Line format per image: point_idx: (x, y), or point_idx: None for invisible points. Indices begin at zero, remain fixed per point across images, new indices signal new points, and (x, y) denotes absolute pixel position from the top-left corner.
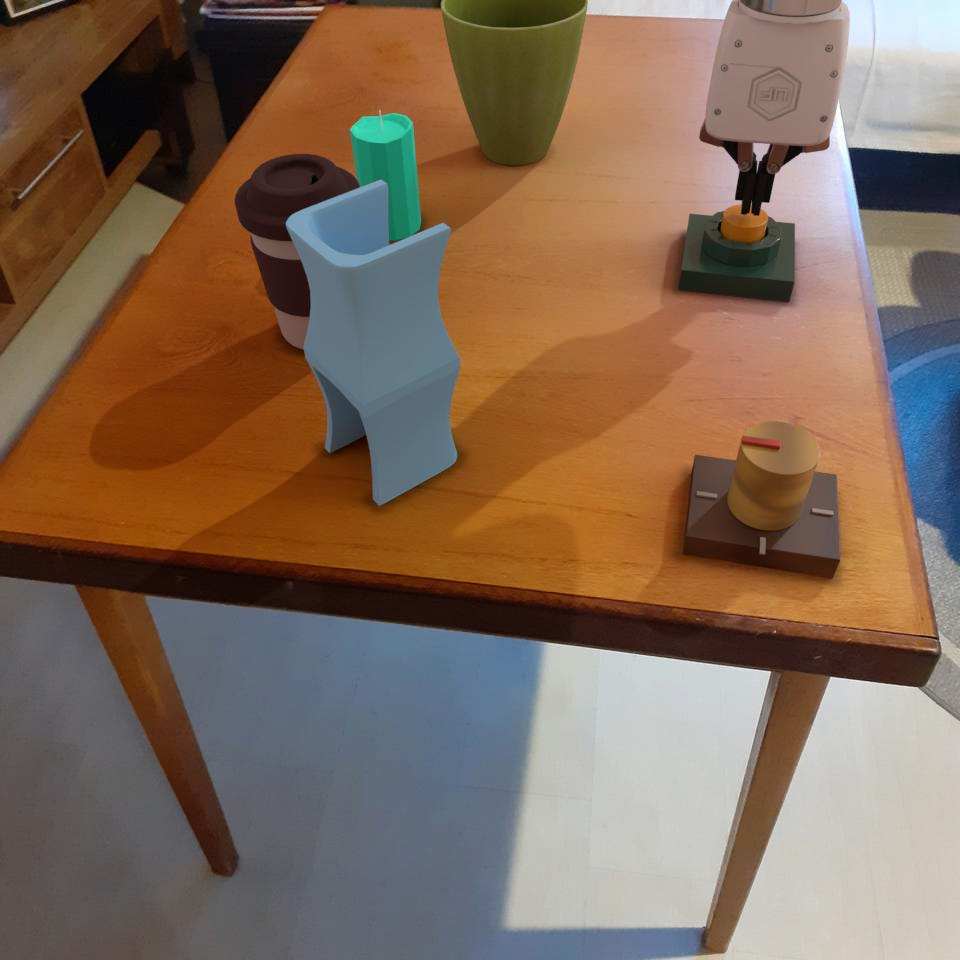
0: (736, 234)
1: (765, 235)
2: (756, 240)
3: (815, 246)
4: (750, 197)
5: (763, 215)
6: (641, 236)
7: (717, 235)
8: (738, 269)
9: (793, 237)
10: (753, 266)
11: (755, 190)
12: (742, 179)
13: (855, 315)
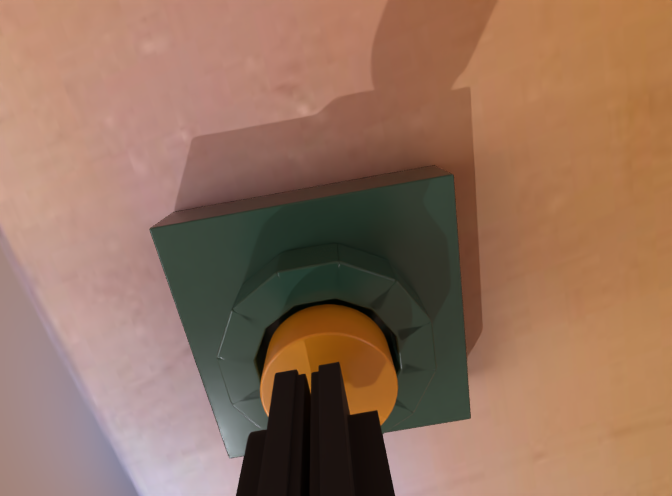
0: (337, 316)
1: None
2: (279, 327)
3: (188, 426)
4: (318, 416)
5: None
6: (548, 341)
7: (390, 310)
8: (304, 232)
9: (214, 407)
10: (270, 258)
11: (304, 450)
12: (375, 488)
13: (17, 216)
